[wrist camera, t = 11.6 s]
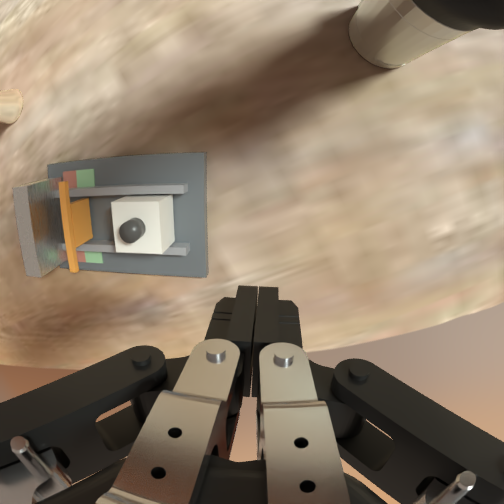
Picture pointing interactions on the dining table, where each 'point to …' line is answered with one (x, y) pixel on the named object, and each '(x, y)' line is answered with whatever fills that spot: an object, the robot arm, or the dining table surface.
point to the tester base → (136, 183)
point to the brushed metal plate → (40, 226)
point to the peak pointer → (74, 223)
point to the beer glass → (10, 105)
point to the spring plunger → (143, 223)
